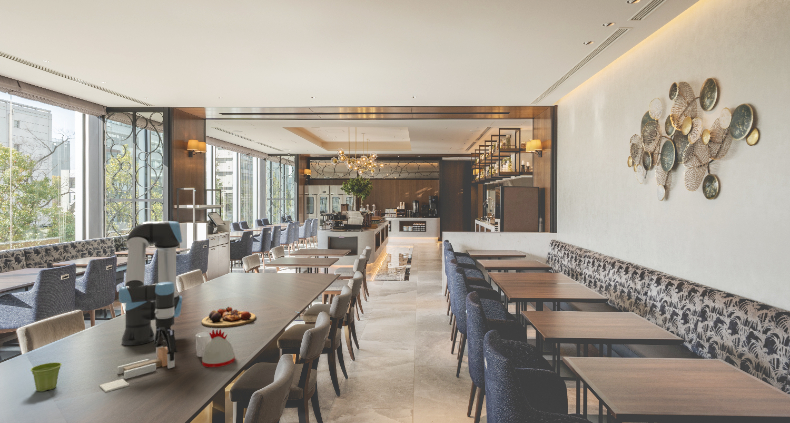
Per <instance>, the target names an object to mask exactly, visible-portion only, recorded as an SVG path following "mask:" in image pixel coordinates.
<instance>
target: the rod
mask: <svg viewBox="0 0 790 423" xmlns="http://www.w3.org/2000/svg"><path fill="white" fill-rule="evenodd" d="M154 363H156V368H160V367H162V366H161V360H160V359H156V358H155V359H151V360H149V361H147V362H143V363H139V364H136V365H132V366H128V367H124V371H127V370H131V369H135V368H139V367H143V366H146V365H150V364H154Z"/></svg>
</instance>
